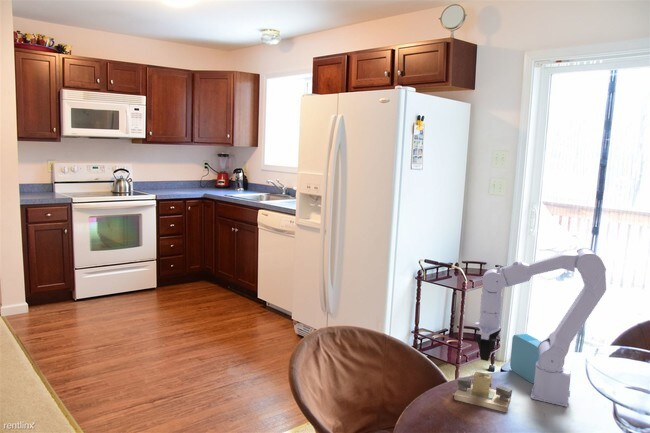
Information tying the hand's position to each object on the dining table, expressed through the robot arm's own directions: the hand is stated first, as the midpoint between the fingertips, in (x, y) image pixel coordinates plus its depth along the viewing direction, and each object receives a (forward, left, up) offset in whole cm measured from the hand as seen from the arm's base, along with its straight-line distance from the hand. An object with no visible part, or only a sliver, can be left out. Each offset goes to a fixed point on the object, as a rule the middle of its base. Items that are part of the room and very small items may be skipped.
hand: (486, 355), depth 150 cm
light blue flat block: (-11, -14, -10) cm, 20 cm away
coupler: (0, +9, -8) cm, 12 cm away
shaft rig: (-1, +9, -9) cm, 13 cm away
